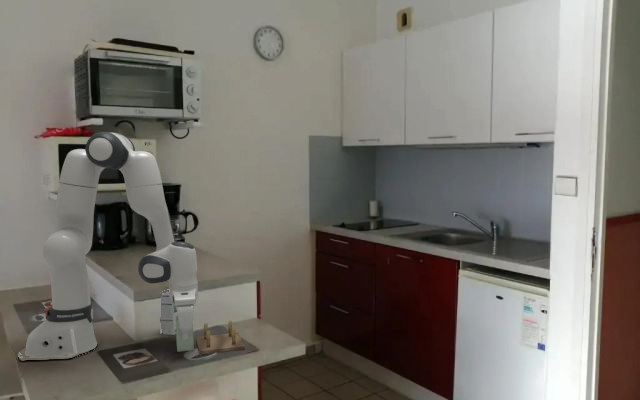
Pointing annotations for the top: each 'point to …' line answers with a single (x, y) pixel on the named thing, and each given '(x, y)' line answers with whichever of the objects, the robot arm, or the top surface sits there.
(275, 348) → the top surface
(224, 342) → the standoff base
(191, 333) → the green block
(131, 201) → the robot arm
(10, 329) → the top surface
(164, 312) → the syrup box
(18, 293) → the top surface
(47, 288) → the top surface
